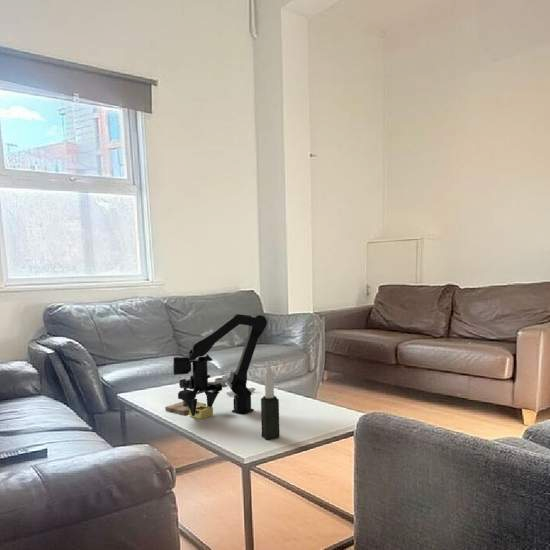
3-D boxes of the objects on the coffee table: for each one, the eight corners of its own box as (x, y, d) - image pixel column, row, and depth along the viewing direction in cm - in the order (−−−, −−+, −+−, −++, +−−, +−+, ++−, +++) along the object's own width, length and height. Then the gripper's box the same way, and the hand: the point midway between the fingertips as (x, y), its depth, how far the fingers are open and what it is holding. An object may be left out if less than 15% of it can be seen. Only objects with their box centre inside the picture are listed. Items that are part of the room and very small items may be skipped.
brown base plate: (206, 407, 198) (205, 392, 198) (184, 415, 188) (183, 398, 188) (187, 403, 205) (187, 388, 205) (165, 410, 195) (165, 394, 195)
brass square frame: (213, 414, 188) (212, 407, 188) (201, 419, 182) (200, 411, 182) (201, 412, 191) (201, 404, 191) (189, 416, 186) (189, 408, 186)
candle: (260, 435, 163) (258, 362, 162) (274, 433, 165) (272, 360, 165) (266, 440, 158) (264, 364, 158) (280, 437, 160) (278, 363, 160)
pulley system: (247, 384, 241) (232, 377, 253) (246, 375, 240) (232, 368, 253) (196, 395, 226) (183, 387, 238) (196, 385, 225) (183, 378, 238)
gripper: (202, 366, 199) (203, 404, 199) (167, 375, 184) (168, 415, 184) (222, 369, 192) (223, 408, 193) (187, 378, 177) (188, 420, 178)
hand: (201, 412), depth 187 cm, fingers open, 8 cm apart
